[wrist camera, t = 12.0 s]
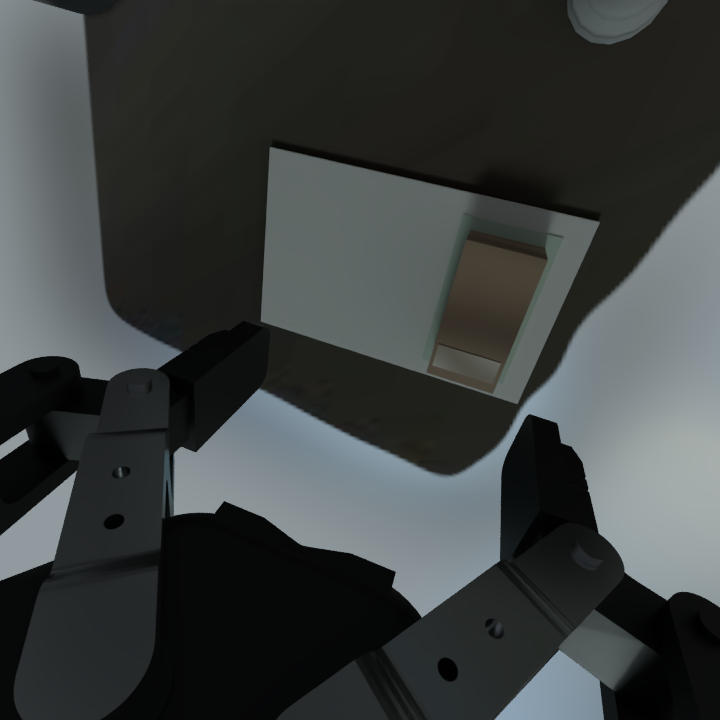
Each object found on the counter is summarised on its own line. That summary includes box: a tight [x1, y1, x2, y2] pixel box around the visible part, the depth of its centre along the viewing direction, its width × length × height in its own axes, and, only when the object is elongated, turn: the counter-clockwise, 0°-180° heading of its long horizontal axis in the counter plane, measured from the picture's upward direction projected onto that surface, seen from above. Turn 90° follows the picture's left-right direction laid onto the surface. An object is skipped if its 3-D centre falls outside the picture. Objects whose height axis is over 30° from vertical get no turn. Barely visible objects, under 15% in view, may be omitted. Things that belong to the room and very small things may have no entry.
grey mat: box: [261, 147, 600, 404], centre depth 29 cm, size 21×13×1 cm, turn 80°
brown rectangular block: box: [426, 230, 548, 394], centre depth 26 cm, size 9×4×3 cm, turn 170°
